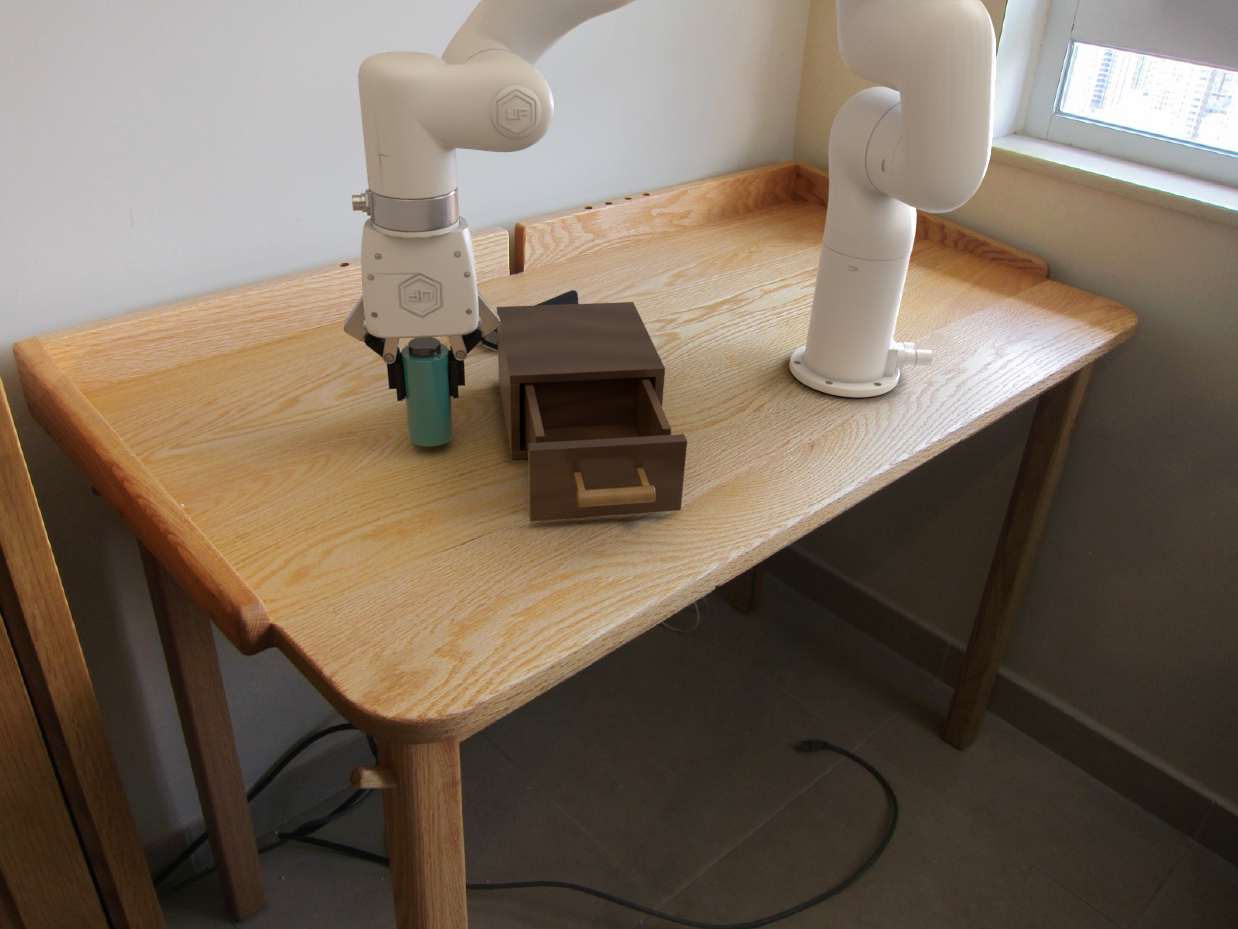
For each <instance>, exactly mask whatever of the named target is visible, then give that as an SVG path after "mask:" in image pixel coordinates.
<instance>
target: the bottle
mask: <svg viewBox="0 0 1238 929" xmlns="http://www.w3.org/2000/svg"><path fill="white" fill-rule="evenodd" d="M449 350H450V349H449V347H448V346H447V345H446V344H443V343H442V342H441V341H440V340H439V339H438V338H437V337H422V338H411V339H410V340H409V341H408V343H407V344H406V345H405V346H403V347H402V349H401V350H400V352H401V358H402V368H403V380H404V391H405V399H404V402H405V404H404V405H405V413H406V426H407V427H406V428H407V438H408V440H409V441H410V442H411V443H412V444H415V445H417V446H421V447H437V446H441V445H444V444H447V443H448V442H450V441H451V440H452V439H453V437H454V433H455V432H454V418H453V416H454V415H453V401H452V400H453V398H452V397H451V386H450V368H449Z"/></svg>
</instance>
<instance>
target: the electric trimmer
mask: <svg viewBox="0 0 1238 929" xmlns="http://www.w3.org/2000/svg"><path fill="white" fill-rule="evenodd" d="M564 304H579V294H578V291H577V290H575V289H572V290H569V291H566V292H564V293H561V294H559V295H557V296H554V297H552V298H549V299H547V300H544V301H542V302H539V303H537V304H534V305H533V306H535V305H564ZM480 342H481V344H482V346H483V347H485V348H487V349H489V350H491V351H493V352H496V353H498V334H497V329H496V330H494V331H493V332H491V333H490V334H489V335H487V336H485V337H483V338H482V340H481V341H480Z"/></svg>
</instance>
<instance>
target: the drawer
mask: <svg viewBox="0 0 1238 929" xmlns="http://www.w3.org/2000/svg"><path fill="white" fill-rule="evenodd" d="M522 403H523V436H524V441H525V446H526V451H527V456H528V459H527V461H528V465H527V466H528V515H529V521H530V522H541V521H543V522H544V521H556V520H570V519H581V518H596V517H610V516H624V515H637V514H650V513H651V514H652V513H663V512H664V513H665V512H678V511H679V512H680V511H681V510H682V502H683V492H684V481H685V480H684V479H685V468H686V460H687V458H686V457H687V448H688V447H687V446H688V439H687V437H686V435H685V434H684V433H681V434H680V433H679V434H672V427H671V425H670V423H669V421H668V418H667V416H666V414H665V411H664V409H663V406H662V407H661V404H660V402H659V400H658V398H657V395H656V393H655V391H654V389H653V386H652V384H651V382H650V379H649V377H643V378H622V379H602V380H581V381H561V382H540V383H522Z"/></svg>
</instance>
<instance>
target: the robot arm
mask: <svg viewBox="0 0 1238 929" xmlns="http://www.w3.org/2000/svg"><path fill="white" fill-rule="evenodd" d="M633 2H636V0H480V1H479V2H478V4H477V5H476V6H475V7H474V8H473V9H472V11H471V13H470V14H469V15H468V17H467V18H466V19H465V21H464V22H463V23H462V25H461V26H460V27H459V29H458V30H457V31H456V33H455V34H454V35H453V37H452V38H451V39H450V41H449V43H448V44H447V45H446V47H445V49H444V51H443V53H442V55H441V56H440V57H439V56H437V55H434V54H432V53H431V54H430V53H427V52H418V51H387V52H379V53H376V54H372V55H370V56H367V57H366V58H365V59H364V60H362V62H361V64H360V65H359V68H358V74H357V79H358V80H357V81H358V95H359V104H360V105H359V106H360V114H361V123H362V124H361V127H362V137H363V146H364V157H365V167H366V168H365V169H366V175H367V186H368V189H365V192H360V194H351V204H352V211H354V212H356V211H357V212H358V211H361V213H366V216H367V217H368V216H370V217H369V218H367V219H366V220H365V222H364V225H363V226H362V235H361V246H360V268H361V290H362V294H361V296H360V297H359V299H358V300H357V301H356V304H355V305H354V306H353V308H352V310H351V311H350V312H349V314H348V315H347V317H346V318H345V320H344V322H343V332H344V333H345V334H347V335H349V336H350V337H352V338H354V339H356V340H358V341H359V342H363V343H364V344H365V346H366V347H368V348H369V349H371V350H372V351H373V352H374V353H376V354H377V355H378V356H379V357H381V358H382V361H383V362H384V363H385V364H386V371H387V380H388V389H389V390H395V391H396V401H397V402H403V401H404V400H405V391H404V380H403V368H402V358H401V349H400V347H399V345H400V344H399V343H400V339H414V338H422V337H433V338H442V337H443V338H444V337H447V339H448V340H449V344H450V346H449V349H448V350H449V368H450V386H451V398H452V399H459V398H460V396H459V395H460V394H459V387H463V386H464V387H465V386H466V373H465V372H466V371H465V360H466V359H467V358H468V354H469V353H470V352H471V351H472V350H474V348H475V347H476V346H477V345H478V344H480V342H481V340H482V338H483V337H485V336H487V335H489V334H490V333H491V332H493V331H494V330H496V329H497V328H499V326H500V324H501V323H500V317H499V315H498V314H497V311H496V310H495V309H494V308H493V307H492V306H491V304H490V303H489V302H488V301H487V300H486V298H485V297H484V296H483V295H482V294H481V292H480V291H479V290H478V281H477V280H478V279H477V278H478V277H477V269H476V260H475V259H476V258H475V253H474V252H475V250H474V246H473V242H472V241H473V240H472V236H471V232H470V229H469V225H468V223H467V220H466V219H465V218H464V217H463V216H461V215H460V212H459V211H460V210H459V209H460V207H459V189H458V165H457V149H459V150H474V151H481V152H492V153H514V152H515V153H516V152H520V151H524V150H526V149H528V148H531V147H532V146H534V145H536V144H537V143H538V142H539V141H541V140H542V139H543V138H544V137H545V135H546V134H547V133H548V131H549V129H550V128H551V125H552V123H553V120H554V116H555V100H554V95H553V92H552V89H551V87H550V85H549V83H548V81H547V80H546V78H545V77H544V76H543V74H542V72H540V70H538V69H537V68H536V67H537V66H538V64H539V63H540V62H541V60H542V59H543V58H544V57H545V56H546V55H547V54H548V52H549V51H550V50H551V49H552V48H553V47H554V46H555V45H556V44H557V43H558V42H559V41H560V40H562V39H563V38H564V37H565V36H566V35H568V34H569V32H571V31H572V30H574V29H576V28H577V27H579V26H580V25H582V24H584V23H586V22H587V21H589V20H592V19H594V18H597V17H599V16H602V15H605V14H608V13H611V12H615V11H616V10H619V9H622V8H624V7H626V6H627V5H630V4H631V3H632V4H633ZM835 14H836V17H835V18H836V34H837V45H838V52H839V56H840V59H841V61H842V63H843V64H844V66H845V67H846V69H848V70H849V71H850V72H851V73H853V74H854V75H856V76H857V77H859V78H862V79H863V80H866V81H868V82H871V83H873V84H876V85H878V86H872V87H868V88H865V89H862V90H860V91H858V92H856V93H854V94H853V95H852V96H850V97H849V98H848V99H847V100H846V101H845V102H844V103H843V104H842V106H841V107H840V109H839V110H838V112H837V113H836V115H835V117H834V120H833V122H832V125H831V128H830V133H829V137H828V138H829V140H828V197H827V198H828V200H827V210H826V217H825V223H824V231H823V235H822V236H823V237H822V240H821V246H820V247H821V248H820V254H819V260H818V266H817V272H816V278H815V285H814V290H813V291H814V292H813V296H812V304H811V310H810V316H809V323H808V329H807V335H806V342H805V344H804V345H801V346H800V347H797V348H796V349H795V350H794V351H793V352H792V353H791V355H790V357H789V364H788V367H789V370H790V373H791V374H792V375H793V376H794V378H796V380H798V381H799V382H800V383H802V384H803V385H805V386H806V387H808V388H810V389H813V390H815V391H819V392H822V393H824V394H829V395H832V396H838V397H844V398H870V397H876V396H881V395H884V394H886V393H888V392H890V391H892V390H893V389H895V387H896V386H897V385H898V382H899V379H900V376H901V375H900V369H903V367H904V366H913V367H919V368H921V367H923V368H929V367H931V366H932V362H933V352H932V350H930V349H916V343H915V342H908V341H907V342H905V341H904V342H896V341H895V339H894V335H895V331H896V327H897V326H896V325H897V321H898V315H899V311H900V306H901V302H902V299H903V298H902V297H903V292H904V288H905V283H906V278H907V273H908V268H909V264H910V261H911V260H910V259H911V254H912V252H913V247H914V242H915V237H916V228H917V210H918V211H921V212H925V213H928V214H929V213H930V214H943V213H950V212H953V211H955V210H956V209H958V208H960V207H962V206H963V205H965V204H966V203H967V202H968V201H969V200H970V199H972V197H973V196H974V195H975V194H976V192H977V191H978V189H979V188H980V186H981V184H982V183H983V180H984V178H985V176H986V173H987V170H988V167H989V166H988V165H989V162H990V159H991V152H992V143H993V142H992V141H993V126H994V103H995V85H996V84H995V83H996V81H995V80H996V61H997V60H996V57H997V56H996V54H997V53H996V48H997V47H996V45H997V44H996V34H995V28H994V26H993V25H994V24H993V21H992V19H991V18H992V17H991V16H990V13H989V12H988V9H987V8H986V6H985V5H984V4H983V2H982V1H981V0H835ZM479 318H480V319H479Z"/></svg>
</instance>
